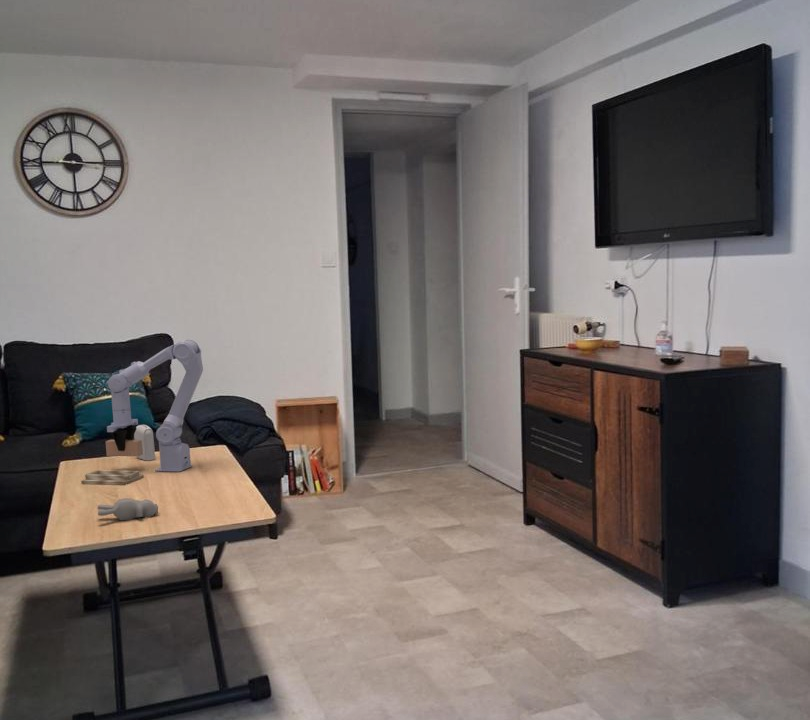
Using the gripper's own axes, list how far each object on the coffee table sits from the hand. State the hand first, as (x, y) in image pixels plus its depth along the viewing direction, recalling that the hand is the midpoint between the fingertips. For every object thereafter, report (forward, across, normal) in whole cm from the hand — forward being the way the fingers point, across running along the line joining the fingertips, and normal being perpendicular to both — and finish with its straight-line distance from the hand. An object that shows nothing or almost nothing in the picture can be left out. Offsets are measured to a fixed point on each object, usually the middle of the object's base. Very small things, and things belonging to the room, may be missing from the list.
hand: (124, 449), depth 274 cm
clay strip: (+2, 0, 0) cm, 2 cm away
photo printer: (+8, -19, -5) cm, 21 cm away
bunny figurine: (+8, +51, +36) cm, 63 cm away
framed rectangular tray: (+7, +13, +4) cm, 15 cm away
